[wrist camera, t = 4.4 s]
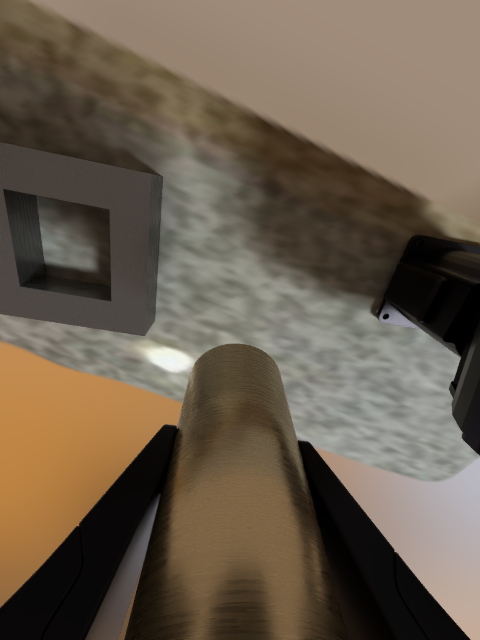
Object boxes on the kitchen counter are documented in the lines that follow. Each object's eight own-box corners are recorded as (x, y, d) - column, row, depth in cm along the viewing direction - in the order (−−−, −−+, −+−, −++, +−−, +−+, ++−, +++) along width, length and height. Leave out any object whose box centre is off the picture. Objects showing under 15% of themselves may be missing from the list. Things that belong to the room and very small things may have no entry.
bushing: (291, 351, 11) (463, 822, 3) (269, 421, 13) (333, 844, 4) (194, 336, 10) (56, 832, 2) (185, 411, 12) (84, 852, 4)
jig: (162, 176, 16) (151, 173, 14) (154, 320, 20) (144, 336, 18) (-11, 140, 15) (-53, 130, 13) (18, 298, 20) (-11, 312, 17)
